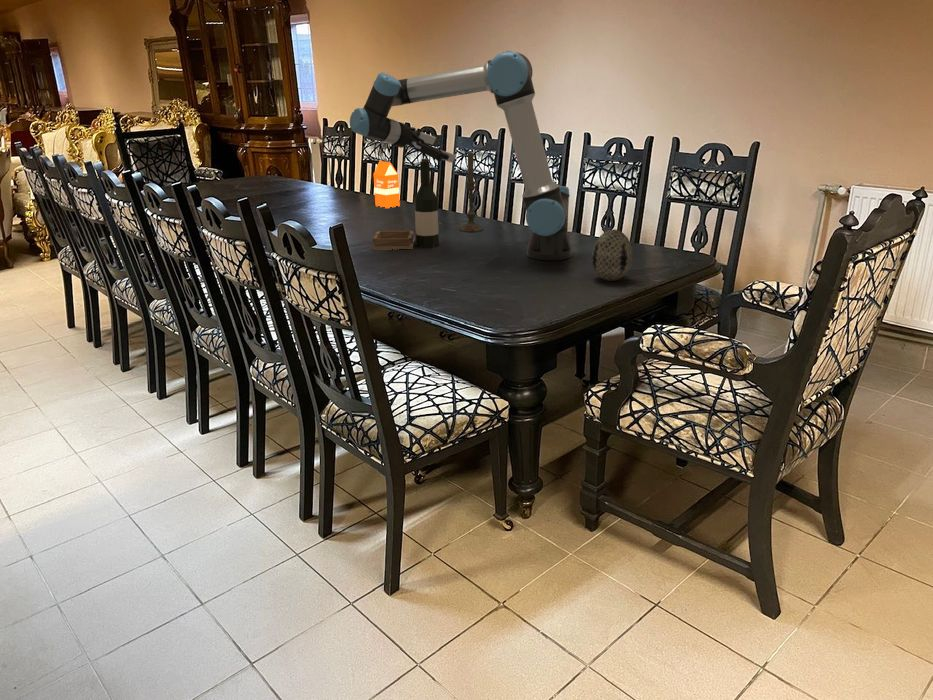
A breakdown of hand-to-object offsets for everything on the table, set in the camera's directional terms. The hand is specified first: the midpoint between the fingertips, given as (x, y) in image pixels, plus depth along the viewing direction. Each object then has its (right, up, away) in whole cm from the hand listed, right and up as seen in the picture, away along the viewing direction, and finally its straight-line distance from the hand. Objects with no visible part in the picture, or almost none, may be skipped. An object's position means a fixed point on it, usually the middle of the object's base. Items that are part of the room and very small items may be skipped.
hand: (443, 149), depth 236 cm
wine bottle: (-6, -31, +13) cm, 34 cm away
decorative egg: (+50, -48, -31) cm, 76 cm away
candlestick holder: (+10, -22, +34) cm, 42 cm away
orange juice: (-29, -2, +84) cm, 89 cm away
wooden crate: (-18, -31, +13) cm, 38 cm away
